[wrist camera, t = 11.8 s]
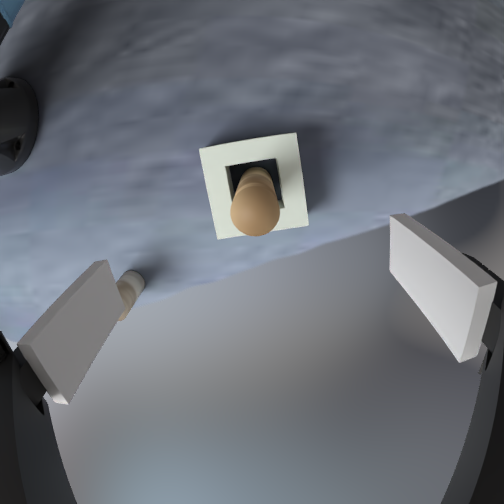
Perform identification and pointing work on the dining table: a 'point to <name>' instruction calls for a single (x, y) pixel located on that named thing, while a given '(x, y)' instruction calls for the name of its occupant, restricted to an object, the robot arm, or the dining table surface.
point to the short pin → (129, 290)
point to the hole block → (249, 151)
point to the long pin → (255, 203)
